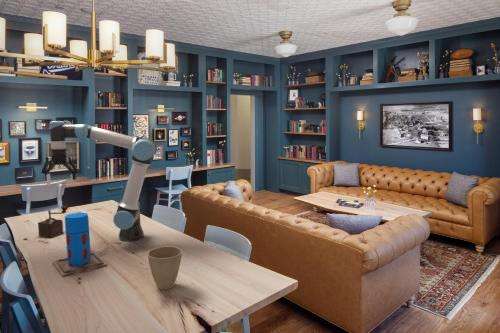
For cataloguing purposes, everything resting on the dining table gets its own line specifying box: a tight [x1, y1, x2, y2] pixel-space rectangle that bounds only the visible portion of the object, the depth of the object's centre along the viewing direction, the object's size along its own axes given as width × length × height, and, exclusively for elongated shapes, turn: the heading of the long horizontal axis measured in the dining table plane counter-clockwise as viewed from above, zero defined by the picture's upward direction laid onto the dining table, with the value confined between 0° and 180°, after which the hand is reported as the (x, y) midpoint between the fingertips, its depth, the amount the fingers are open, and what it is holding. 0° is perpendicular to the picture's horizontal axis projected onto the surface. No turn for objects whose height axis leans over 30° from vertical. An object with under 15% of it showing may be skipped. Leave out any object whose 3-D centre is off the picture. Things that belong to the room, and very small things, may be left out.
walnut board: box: [52, 251, 108, 278], centre depth 192 cm, size 21×21×2 cm
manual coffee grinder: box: [37, 205, 69, 239], centre depth 242 cm, size 16×11×18 cm
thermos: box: [64, 212, 92, 267], centre depth 190 cm, size 11×11×25 cm
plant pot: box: [147, 245, 183, 290], centre depth 166 cm, size 15×15×16 cm
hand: (61, 185), depth 214 cm, fingers open, 13 cm apart
